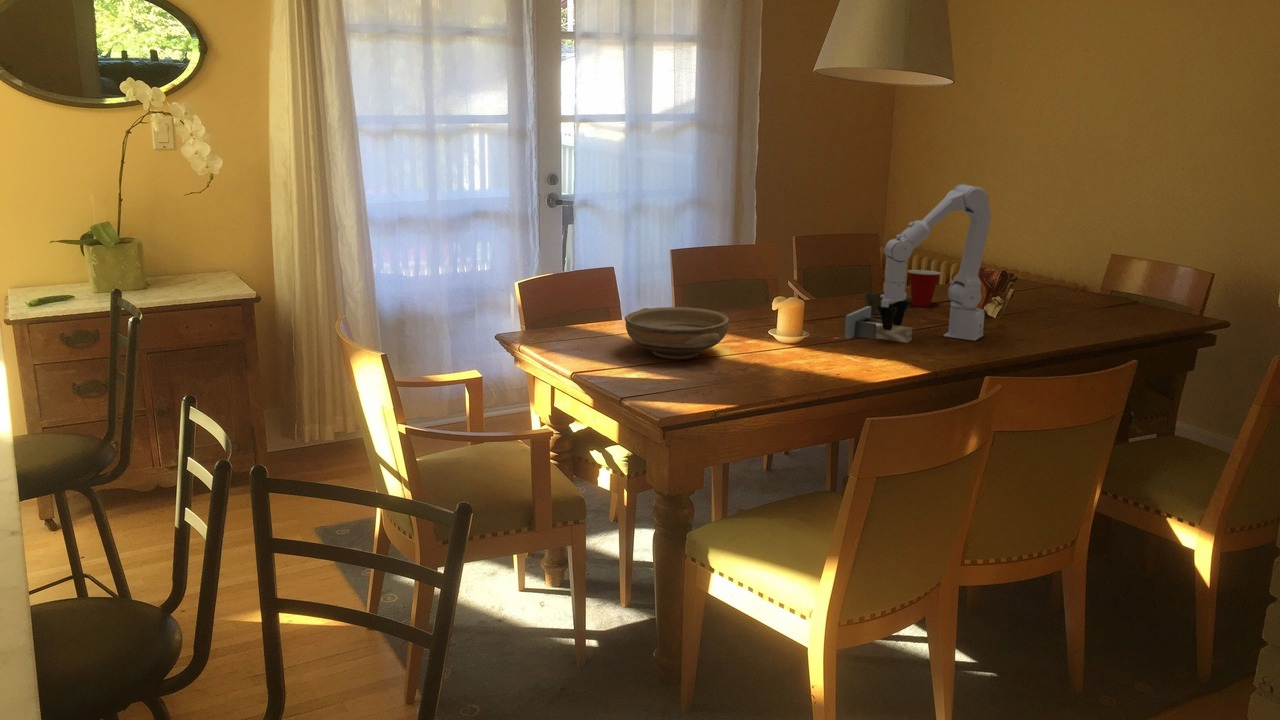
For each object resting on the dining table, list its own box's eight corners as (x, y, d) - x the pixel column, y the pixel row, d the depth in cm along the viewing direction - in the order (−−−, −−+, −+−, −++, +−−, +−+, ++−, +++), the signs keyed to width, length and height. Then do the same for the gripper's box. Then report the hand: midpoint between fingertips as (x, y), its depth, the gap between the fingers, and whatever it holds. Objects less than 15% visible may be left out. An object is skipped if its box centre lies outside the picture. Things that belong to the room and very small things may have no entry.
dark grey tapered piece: (885, 316, 325) (887, 291, 323) (888, 321, 318) (890, 296, 316) (861, 315, 326) (863, 291, 324) (864, 320, 319) (866, 295, 317)
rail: (911, 341, 294) (912, 327, 293) (906, 343, 292) (907, 330, 291) (866, 334, 302) (866, 321, 301) (861, 336, 299) (862, 323, 298)
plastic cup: (942, 304, 343) (945, 269, 340) (932, 310, 334) (935, 274, 331) (910, 301, 349) (913, 266, 346) (900, 306, 340) (903, 271, 337)
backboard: (869, 329, 308) (871, 306, 306) (848, 339, 295) (849, 315, 293) (866, 328, 308) (867, 306, 307) (844, 338, 296) (845, 315, 294)
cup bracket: (883, 334, 301) (884, 319, 300) (873, 339, 295) (874, 324, 294) (864, 331, 304) (865, 317, 303) (854, 336, 299) (855, 321, 297)
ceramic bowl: (600, 344, 289) (599, 310, 287) (686, 333, 302) (686, 300, 300) (664, 375, 258) (664, 337, 255) (757, 362, 271) (758, 325, 268)
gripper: (891, 276, 299) (888, 321, 303) (872, 283, 288) (869, 330, 291) (914, 278, 296) (911, 324, 299) (896, 286, 284) (892, 333, 288)
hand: (892, 327), depth 295 cm, fingers open, 7 cm apart
